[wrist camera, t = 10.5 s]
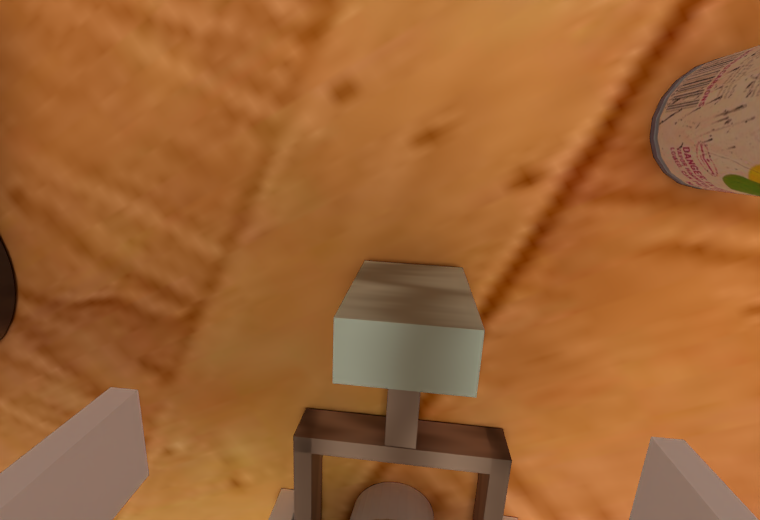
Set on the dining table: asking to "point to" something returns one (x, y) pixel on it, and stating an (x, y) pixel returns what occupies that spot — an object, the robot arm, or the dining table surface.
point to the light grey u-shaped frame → (284, 507)
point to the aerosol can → (712, 126)
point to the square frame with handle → (404, 383)
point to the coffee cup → (391, 503)
